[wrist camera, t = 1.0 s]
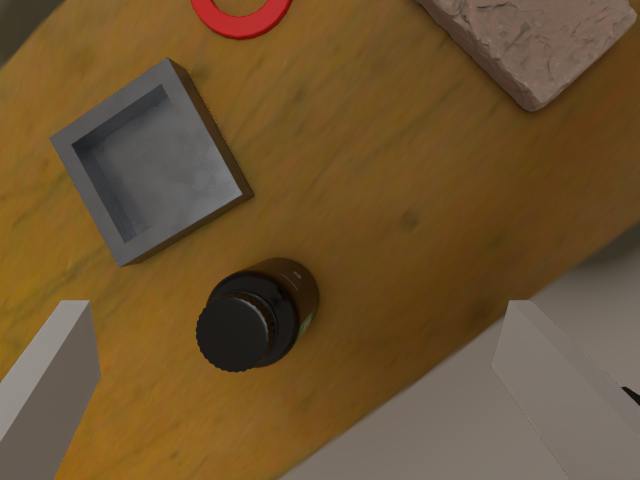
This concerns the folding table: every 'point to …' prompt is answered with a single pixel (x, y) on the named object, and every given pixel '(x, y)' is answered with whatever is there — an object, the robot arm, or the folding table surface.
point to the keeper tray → (151, 164)
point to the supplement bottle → (257, 315)
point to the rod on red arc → (241, 19)
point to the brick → (533, 40)
